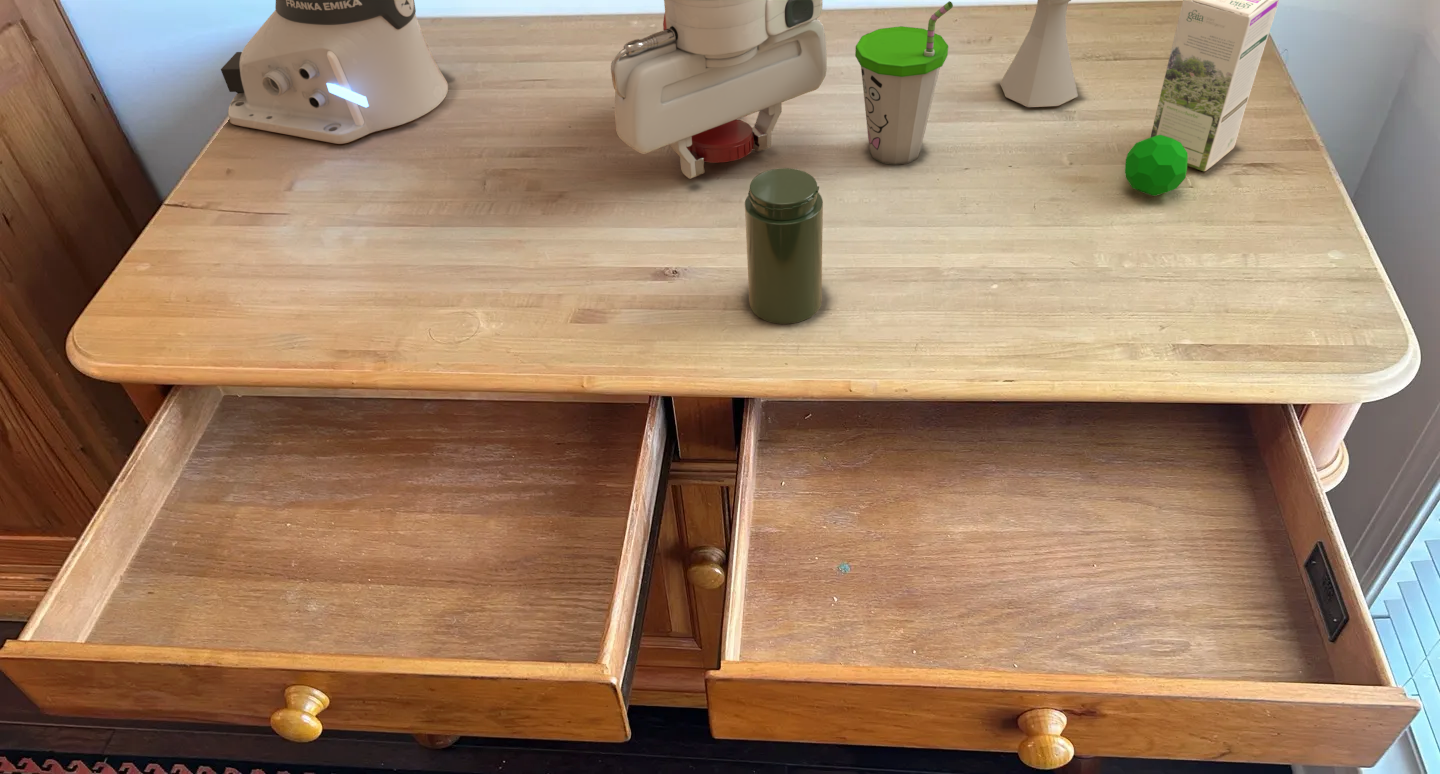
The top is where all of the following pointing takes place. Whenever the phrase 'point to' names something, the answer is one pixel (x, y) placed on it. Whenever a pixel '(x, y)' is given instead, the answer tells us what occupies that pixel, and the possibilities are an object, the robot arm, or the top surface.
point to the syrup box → (1212, 75)
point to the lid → (724, 142)
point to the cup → (900, 86)
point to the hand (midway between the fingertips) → (727, 160)
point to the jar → (784, 245)
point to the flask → (1043, 61)
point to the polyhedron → (1156, 165)
